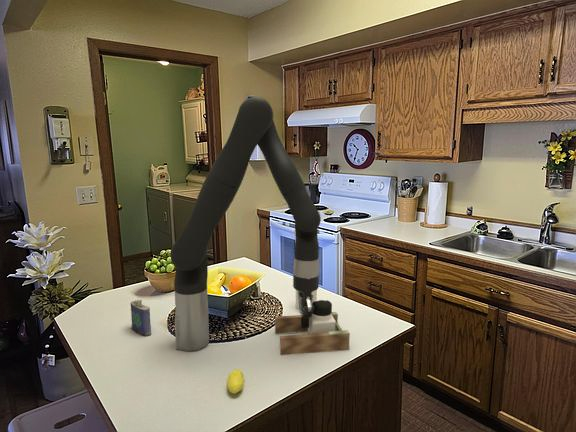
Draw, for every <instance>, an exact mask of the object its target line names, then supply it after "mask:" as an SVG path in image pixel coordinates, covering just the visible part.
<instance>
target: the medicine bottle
mask: <svg viewBox="0 0 576 432" xmlns="http://www.w3.org/2000/svg"><path fill="white" fill-rule="evenodd" d="M312 306H314V311H313V314H312V317H311V318H310V317H309V328H308V331H307V334H315V333H328V332H330V331H336V321H335V319H334V318H333V316H332V312H333V304H332V302H331V301H330V300H328V299H323V298H321V299H320V298H319V299H317V300H315V301H313V302H312Z"/></svg>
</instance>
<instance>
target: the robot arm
mask: <svg viewBox="0 0 576 432" xmlns="http://www.w3.org/2000/svg"><path fill="white" fill-rule="evenodd" d="M257 146H258V148H259V149H260V152H261V153H262V155H263V157H264V159H265V161H266V164H267V167H268V168H269V171H270V174H271V175H272V178H273V181H274V182H275V184H276V186H277V188H278V190H279V192H280V194H281V196H282V198H283V200H284V201H285V202H286V204H287V206H288V209H289V211H290V213H291V215H292V218H293V220H294V232H295V233H294V235H295V239H294V240H295V241H294V257H293V258H294V259H293V266H292V267H293V270H292V271H293V274H292V278H293V279H292V283H293V284H292V287H293V289H294V290H295V291H296V290H298V299H299V309H300V312H299V315H301V327H302V328H309V317H310V318H311V317H312V314H313V311H314V306H312V302H313V295H312V292H313V291H315V290H317V291H318V289H319V288H320V287H319V285H320V284H319V283H320V282H319V281H320V280H319V279H320V261H319V255H320V254H319V253H320V252H319V251H320V246H319V239H318V233H319V232H318V231H319V226H320V225H321V222H322V221H321V215H320V212H319V211H318V209H317V207H316V205H315V204H314V203H315V202H313V200H312V198H311V196H310V195H309V193H308V189H307V187H306V185H305V182H304V180H303V179H302V176H301V174H300V172H299V171H298V168H297V167H296V165H295V163H294V161H293V159H291V157H290V155H289V153H288V152H287V150H286V148H285V146H284V144H283V142H282V140H281V138H280V136H279V134H278V131H277V128H276V124H275V121H274V111H273V108H272V106H271V104H270V103H269V102H268V100H266V98H263V97H262V96H251V97H249V98H246V99H245V100H244V101H243V102H242V103H241V104H240V105H239V108H238V112H237V114H236V117H235V120H234V123H233V125H232V129H231V130H230V133H229V136H228V138H227V140H226V142H225V144H224V146H223V147H222V149H221V150H220V152H219V154H218V155H217V157H216V158H215V160H214V162H213V164H212V166H211V168H210V169H209V171H208V173H207V175H206V177H205V178H204V181H203V183H202V185H201V188H200V190H199V192H198V195H197V198H196V200H195V203H194V206H193V209H192V211H191V214H190V217H189V219H188V221H187V222H186V224H185V227H184V228H183V230H182V231H181V232H180V235H179V236H178V238H177V239H176V240H175V242H173V244H172V245H171V249H170V260H171V263H172V265H173V266H174V267H175V274H174V281H173V285H174V287H173V289H174V305H175V307H174V308H175V316H174V329H175V349H176V350H181V351H185V352H194V351H199V350H202V349H204V348H206V347H208V345H209V344H210V329H209V328H210V327H209V307H208V306H209V303H208V302H209V301H208V300H209V297H208V273H209V272H208V271H209V270H208V267H209V266H208V245H209V243H210V241H211V238H212V236H213V234H214V232H215V230H216V228H217V227H218V224H219V223H220V222H221V220H222V219H223V218H224V216H225V214H226V213H227V211H228V210H229V208H230V206H231V204H232V203H233V201H234V199H235V197H236V195H237V193H238V191H239V190H240V187H241V185H242V182H243V180H244V177H245V175H246V172H247V169H248V167H249V162H250V159H251V158H252V154H253V153H254V151H255V149H256V147H257Z"/></svg>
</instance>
